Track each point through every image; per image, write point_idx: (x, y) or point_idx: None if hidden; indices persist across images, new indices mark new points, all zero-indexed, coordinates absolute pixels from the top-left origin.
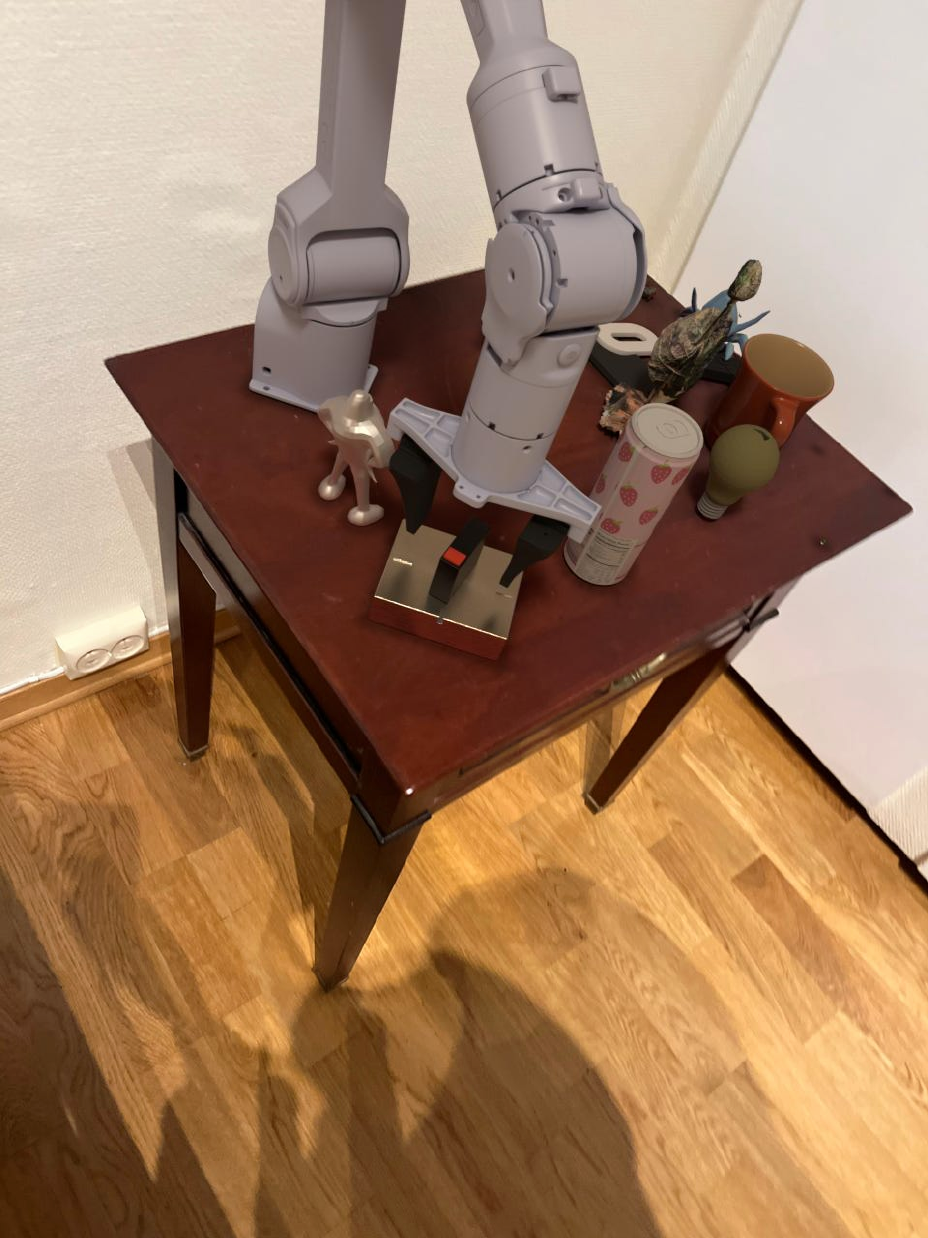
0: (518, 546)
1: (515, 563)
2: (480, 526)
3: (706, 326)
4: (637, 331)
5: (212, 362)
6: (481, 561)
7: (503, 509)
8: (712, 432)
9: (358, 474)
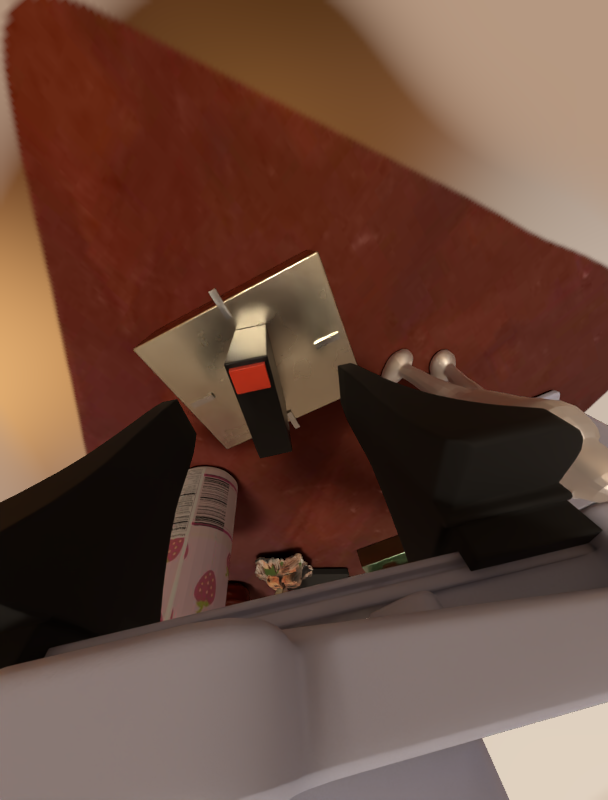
0: (36, 508)
1: (111, 449)
2: (270, 448)
3: None
4: None
5: (593, 386)
6: None
7: (299, 464)
8: (237, 597)
9: (449, 388)
